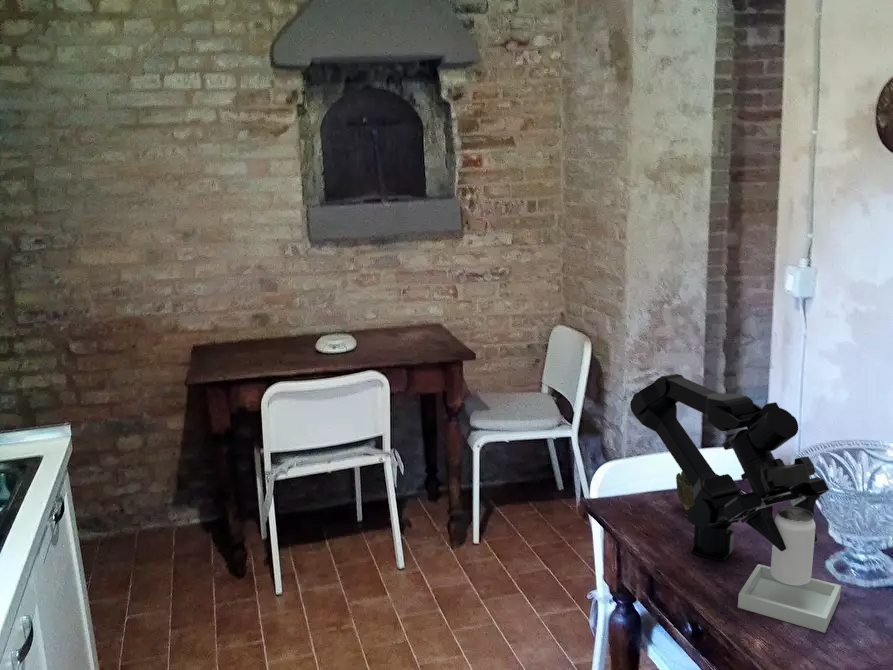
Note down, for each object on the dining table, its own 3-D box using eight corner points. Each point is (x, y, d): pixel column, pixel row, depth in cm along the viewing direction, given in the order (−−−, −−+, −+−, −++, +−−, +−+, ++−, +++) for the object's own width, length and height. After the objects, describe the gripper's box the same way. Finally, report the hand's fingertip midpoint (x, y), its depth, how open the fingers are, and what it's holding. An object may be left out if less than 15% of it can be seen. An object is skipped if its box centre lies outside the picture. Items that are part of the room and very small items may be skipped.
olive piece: (668, 512, 181) (669, 478, 179) (683, 500, 186) (685, 467, 184) (701, 522, 176) (703, 486, 174) (716, 509, 181) (718, 475, 179)
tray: (737, 607, 145) (738, 593, 144) (757, 576, 154) (758, 563, 154) (824, 632, 137) (826, 618, 136) (839, 598, 147) (840, 585, 146)
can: (808, 570, 147) (814, 507, 144) (812, 589, 141) (818, 524, 138) (769, 565, 149) (774, 503, 146) (771, 584, 143) (776, 520, 140)
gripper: (739, 451, 139) (783, 542, 132) (825, 434, 146) (872, 518, 139) (705, 477, 148) (745, 563, 141) (788, 459, 155) (830, 540, 148)
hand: (799, 546), depth 142 cm, fingers closed on can, 6 cm apart
